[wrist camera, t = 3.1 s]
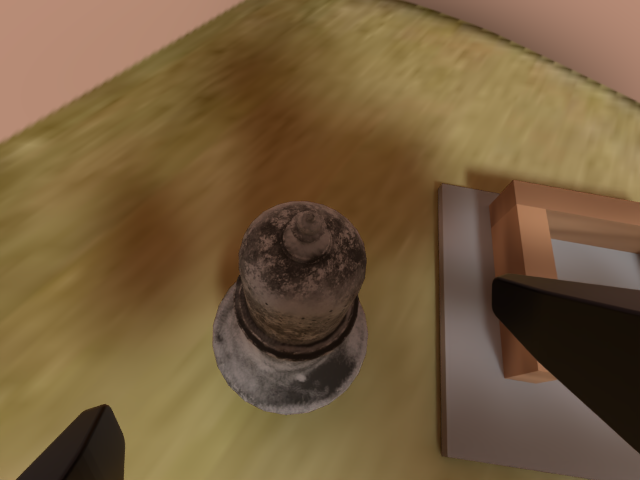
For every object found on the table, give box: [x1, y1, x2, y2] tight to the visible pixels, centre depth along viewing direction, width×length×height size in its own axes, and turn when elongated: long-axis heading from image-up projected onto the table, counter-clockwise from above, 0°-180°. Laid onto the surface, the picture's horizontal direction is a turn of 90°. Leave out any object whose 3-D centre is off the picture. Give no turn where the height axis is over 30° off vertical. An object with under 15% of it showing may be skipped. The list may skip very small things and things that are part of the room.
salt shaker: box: [213, 201, 368, 415], centre depth 12 cm, size 6×6×12 cm
